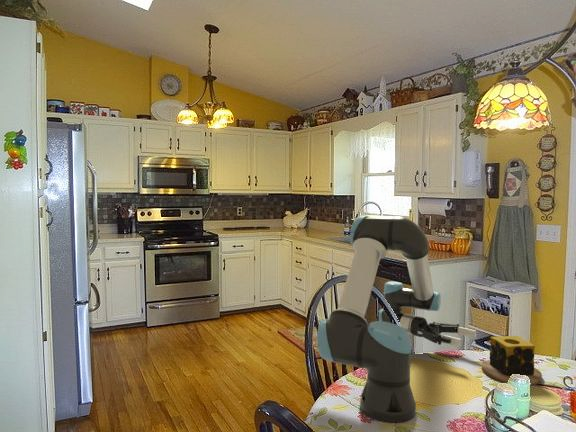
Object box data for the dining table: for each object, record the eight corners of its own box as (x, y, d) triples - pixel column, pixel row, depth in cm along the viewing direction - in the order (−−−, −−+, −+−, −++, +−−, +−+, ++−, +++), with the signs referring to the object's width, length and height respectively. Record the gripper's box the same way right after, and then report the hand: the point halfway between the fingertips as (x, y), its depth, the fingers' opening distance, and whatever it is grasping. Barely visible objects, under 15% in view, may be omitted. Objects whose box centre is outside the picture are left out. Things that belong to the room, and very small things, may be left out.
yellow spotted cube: (516, 363, 150) (517, 335, 150) (535, 375, 140) (536, 345, 140) (488, 364, 149) (489, 335, 149) (505, 376, 139) (507, 346, 139)
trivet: (533, 391, 132) (533, 386, 132) (473, 373, 145) (473, 369, 144) (548, 374, 145) (548, 369, 145) (492, 359, 158) (492, 355, 157)
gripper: (428, 328, 178) (480, 340, 164) (397, 342, 160) (453, 357, 146) (428, 310, 178) (481, 321, 163) (398, 322, 160) (454, 336, 145)
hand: (468, 338), depth 154 cm, fingers open, 13 cm apart
